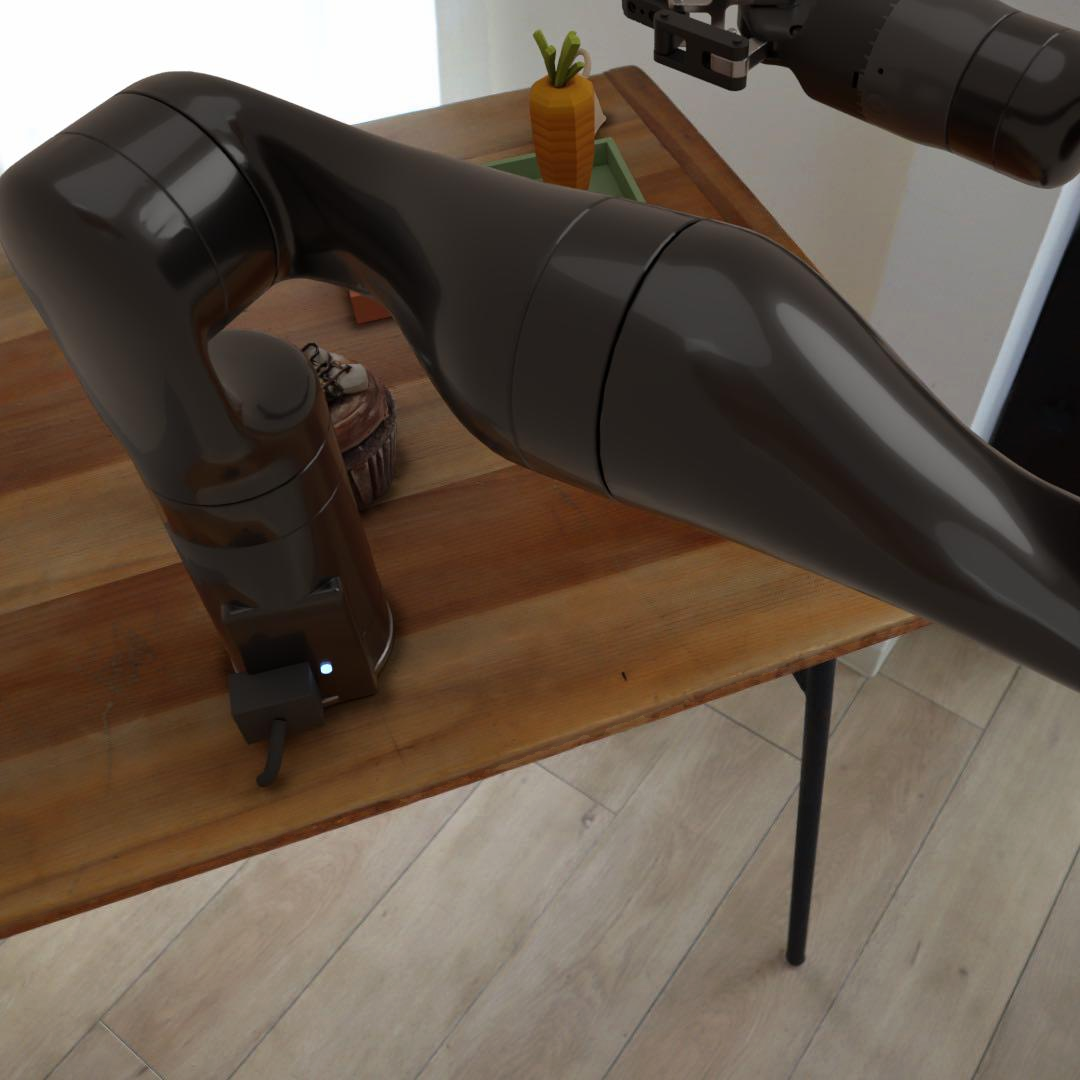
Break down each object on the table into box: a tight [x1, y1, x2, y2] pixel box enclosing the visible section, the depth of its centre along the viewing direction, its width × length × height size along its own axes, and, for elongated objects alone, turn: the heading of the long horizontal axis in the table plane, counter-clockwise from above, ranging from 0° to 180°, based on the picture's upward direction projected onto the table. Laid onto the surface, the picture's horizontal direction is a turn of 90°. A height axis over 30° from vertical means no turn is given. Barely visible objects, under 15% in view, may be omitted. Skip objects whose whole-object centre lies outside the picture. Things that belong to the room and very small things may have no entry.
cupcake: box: [299, 342, 398, 512], centre depth 73 cm, size 10×10×10 cm
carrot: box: [529, 28, 596, 191], centre depth 86 cm, size 5×5×15 cm
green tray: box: [480, 136, 647, 203], centre depth 91 cm, size 13×11×2 cm
